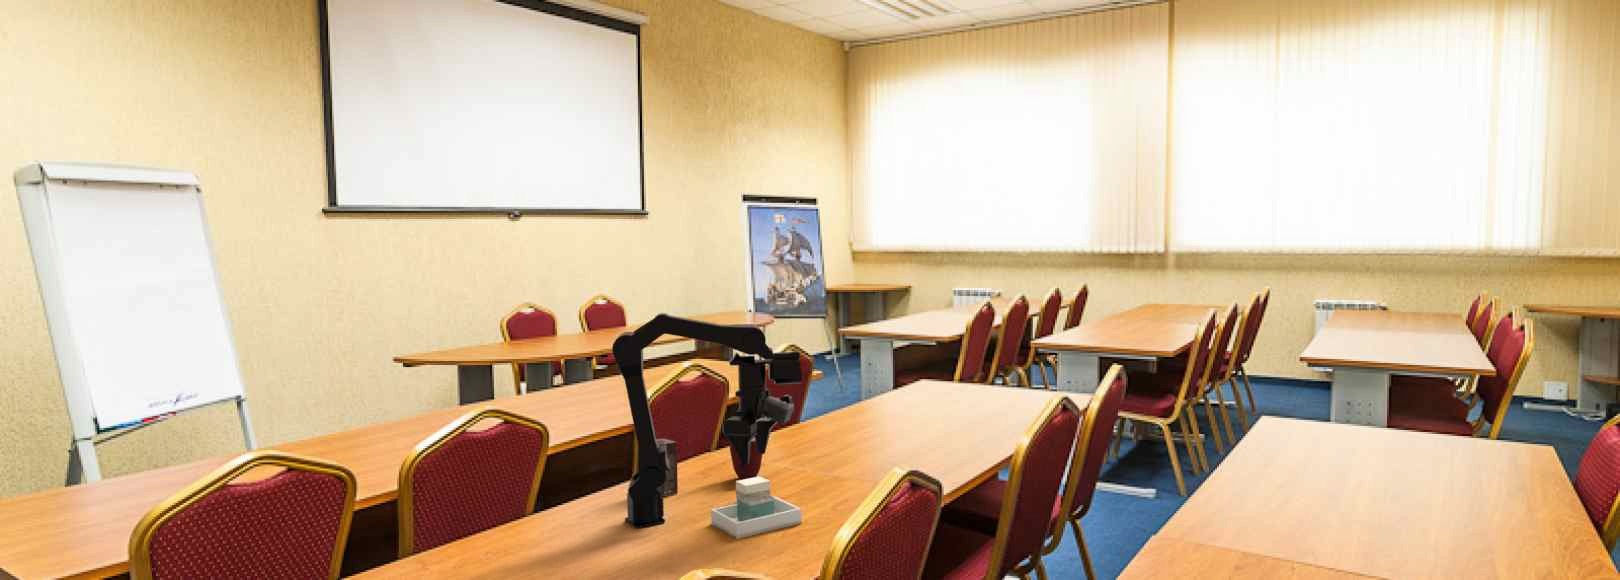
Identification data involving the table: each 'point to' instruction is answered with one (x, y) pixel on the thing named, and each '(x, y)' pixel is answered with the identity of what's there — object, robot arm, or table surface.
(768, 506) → the tin
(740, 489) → the carton
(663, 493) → the box
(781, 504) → the tote
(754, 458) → the mug
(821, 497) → the table surface
